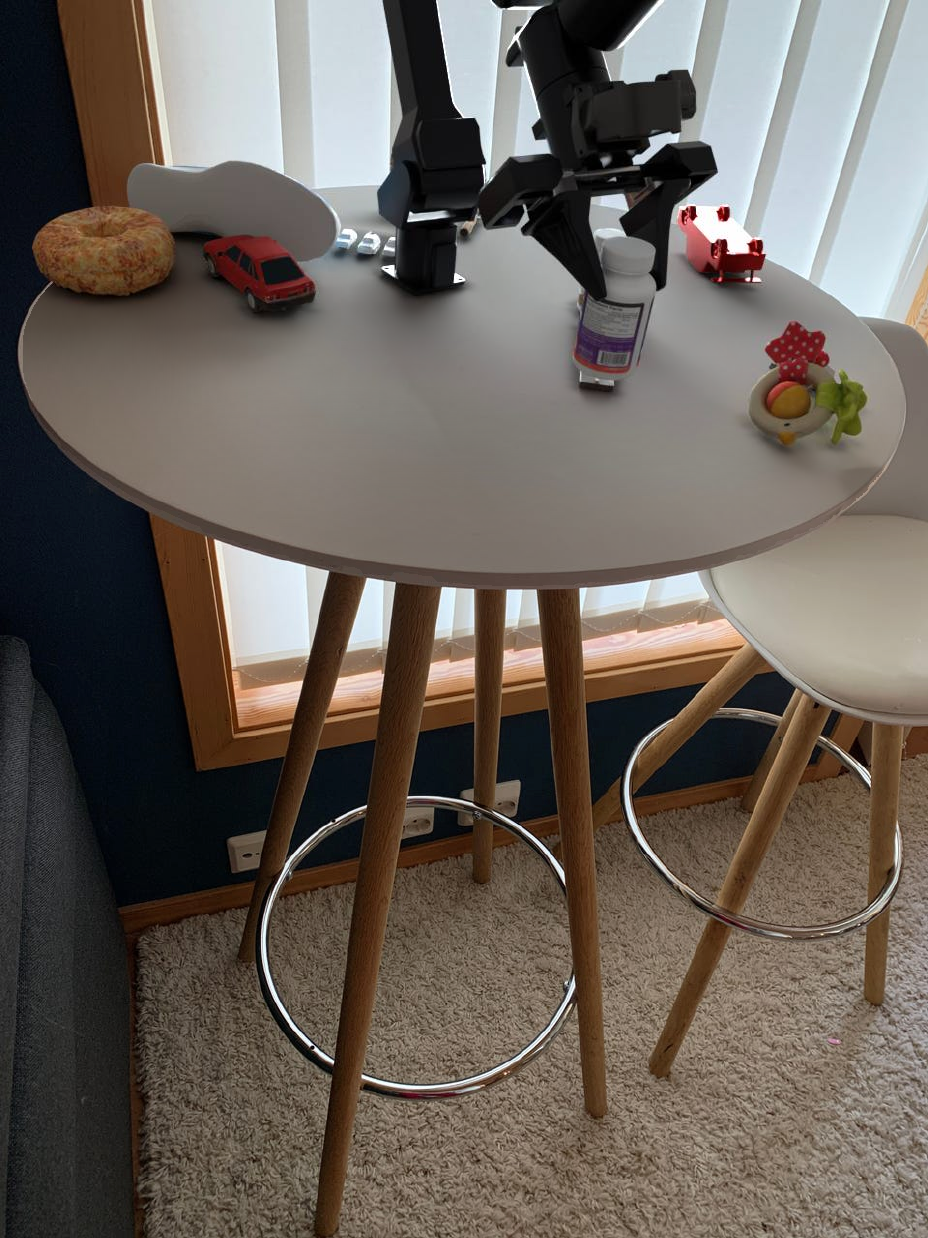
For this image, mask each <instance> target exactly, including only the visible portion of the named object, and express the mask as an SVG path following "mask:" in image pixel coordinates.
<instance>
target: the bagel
mask: <svg viewBox="0 0 928 1238" xmlns="http://www.w3.org/2000/svg"><path fill="white" fill-rule="evenodd" d="M31 249H32V253H33V256H34V259H35V262H36V266H37V268H38V269H39V271H40V273H41V274H43V275H44V276H45V277H46V279H48V280H49V281H50V282H52V283H54V284H56V286H57V287H60V286H61V287H62V288H63V289H67V288H69V289H70V290H72V291H74V292H75V293H82V292H84V293H89V294H92V295H103V296H107V295H114V296H118V297H122V296H129V295H130V294H131V293H132V294H135V293H136V292H138V293H139V292H140V291H142V290H145V289H146V288H150V287H153V286H155V285H157V284H160V283H162V282H163V281H164V279H165V278H167V277H168V276H169V274H170V271H171V269H173V266H174V264H175V258H176V257H175V256H177V253H176V252H175V250H176V243H175V239H174V236H173V234H172V232H170V231H169V229H168V227H167V225H166V224H165V222H164V221H163V220H162V219H160V218H159V217H158V216H157V215H154V214H152V213H149V212H146V211H143V210H140V209H136V208H130V207H125V206H116V205H99V206H93V207H87V208H86V207H85V208H82V209H79V210H75V211H71V212H68V213H64V214H61V215H59V216H58V217H56V218H54V219H53V220H51V221H49V222H47V223H45V225H44V226H43V227H42V228H41V229H40V230H39V231H38V232H37V234H35V237H34V240H33V243H32V246H31Z"/></svg>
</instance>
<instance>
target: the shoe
mask: <svg viewBox="0 0 928 1238" xmlns="http://www.w3.org/2000/svg"><path fill="white" fill-rule="evenodd" d="M126 195H127V202H128V205H129V208H136V209H140V210H143V211H146V212H149V213H152V214H154V215H157V216H158V217H159V218H160V219H162V220H163V221H164V222H165V224H166V225H167V227H168V229H169V231H170V233H184V232H191V233H196V234H201V235H211V236H216V237H219V238H224V237H230V236H237V235H251V236H254V237H265V236H266V237H270V238H271V239H272V240H276V242H277V244H279V245H280V246H281V247H283V248H284V249H285V250H286V251H288V252H289V253H290V254H291V255H292V257H293V258H294V259H295V261H296V262H297V263H301V262H309V261H312V260H317V259H320V258H321V257H323V256H325V255H326V254H328V253H329V252H330V251H331V250H332V249H333V247H335V243H336V242H337V239H338V238H339V237H338V236H340V234H341V229H342V224H341V220H340V218H339V216H338V214H337V212H336V211H335V210H334V209H333V207H331V205H330V204H329V202H328V201H327V200H326V199H325V198H324V197H323V196H321V195H320V194H319V193H318V192H316V191H315V190H314V189H312V188H311V187H309V186H307V185H305V184H304V183H303V182H301V181H299V180H297V179H295V178H293V177H291V176H289V175H287V174H285V173H283V172H279V171H277V170H275V169H273V168H271V167H268V166H265V165H262V164H258V163H255V162H253V161H252V162H251V161H246V160H241V159H240V160H239V159H237V160H236V159H235V160H232V159H231V160H227V161H224V162H221V163H218V164H216V165H214V166H210V167H207V166H193V165H170V166H169V165H161V164H160V165H159V164H155V163H150V162H149V163H148V162H147V163H146V162H144V163H140V164H137V165H135V166H134V167H133V168H132V169H131V171H130V173H129V176H128V178H127V183H126Z"/></svg>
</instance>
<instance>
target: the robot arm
mask: <svg viewBox="0 0 928 1238" xmlns="http://www.w3.org/2000/svg"><path fill="white" fill-rule="evenodd" d="M381 1H382V7H383V12H384V19H385V24H386V29H387V35H388V40H389V47H390V52H391V58H392V64H393V69H394V75H395V80H396V81H395V82H396V86H397V87H396V88H397V92H398V96H399V97H398V98H399V104H400V108H401V121H400V123H399V125H398V126H399V127H398V129H397V132H396V135H395V138H394V141H393V144H392V148H391V153H392V158H393V169H392V170H391V172H389V173H388V175H387V176H386V178H385V179H384V181H383V182H382V183H381V185H380V187H379V188H377V191H376V198H377V207H378V214H379V216H381V217H382V218H383V219H385V220H386V221H387V222H389V223H390V224H391V225H392V226H394V227H395V234H394V235H395V236H394V237H395V257H394V256H393V257H394V260H393V261H394V263H393V264H391V265H386V266H382V267H381V273H382V274H383V275H385V276H386V277H387V278H389V279H390V280H392V281H393V282H395V283H396V284H398V285H399V286H400V287H402V288H403V289H405V290H406V291H408V292H410V293H411V294H413V295H423V294H427V293H432V292H435V291H441V290H446V289H450V288H455V287H460V286H464V285H465V284H466V279H465V278H464V277H462V276H460V275H459V274H457V273H456V266H457V255H458V244H457V240H458V238H457V237H458V227H459V226H458V225H457V224H456V223H465V222H466V221H468V222H473V221H474V220H475V217H476V213H477V210H478V209H479V213H480V216H479V217H481V223H482V225H483V228H484V229H485V230H486V231H491V230H492V231H493V230H498V229H499V230H500V229H507V228H515V227H516V228H517V226H518V225H519V224H520V222H521V220H522V218H523V217H524V214H525V213H526V214H527V218H528V220H527V221H526V222H525V223H524V225H522V226H521V227H520V229H519V230H520V233H521V235H522V236H524V237H531V238H533V239H534V240H535V241H536V242H537V243H538V244H539V245H541V246H542V247H543V248H544V249H545V250H546V251H547V252H548V253H549V254H550V255H551V256H552V257H554V258H555V259H556V260H557V261H558V262H559V263H560V264H561V266H562V267H563V268H564V269H565V270H566V271H567V272H568V273H569V274H570V275H571V276H572V277H573V279H575V281H577V283H578V284H579V285H581V286H582V287H583V288H584V289H585V290H586V291H587V293H588V294H589V295H590V296H591V297H592V298H593V299H594V300H595V301H596V302H598V301H602V300H603V299H604V298H606V297H607V290H606V284H605V278H604V274H603V270H602V266H601V263H600V259H599V256H598V252H597V248H596V245H595V241H594V233H593V231H592V227H591V224H590V214H591V212H590V211H591V203H592V198H597V197H598V198H599V197H605V196H606V197H607V196H615V195H623V196H624V199H625V202H626V206H627V209H628V210H627V211H626V212H624V213H623V214H622V215H621V216H620V217H619V218H618V221H619V223H620V226H621V228H622V231H623V232H625V234H626V236H627V237H633V238H638V239H641V240H644V241H646V242H648V243H650V244H652V245H653V246H654V247H655V251H656V252H655V257H654V262H653V266H652V269H651V271H650V272H648V273H649V274H650V275H651V276H652V277H653V279H654V280H655V283H656V293H657V292H661V290H664V289H665V288H666V286H667V281H668V280H667V279H668V263H669V246H670V245H669V244H670V231H671V222H672V218H673V217H672V216H673V212H674V209H675V207H676V205H678V204H679V203H680V202H682V201H683V200H684V199H686V198H687V197H688V196H689V195H691V194H692V193H693V192H695V191H697V190H698V189H699V188H700V187H702V186H703V185H704V184H706V183H707V182H708V181H710V180H711V179H712V178H713V177H715V176H716V175H717V174H718V173H719V169H718V165H717V161H716V159H715V155H714V152H713V147H712V145H710V144H708V143H706V142H704V141H701V140H691V141H682V142H681V141H680V142H669V143H665V145H663V146H662V147H661V148H660V149H659V150H658V151H657V152H656V153H654V154H653V155H652V156H650V158H649V159H648V160H646V161H645V162H644V163H637V164H634V163H635V162H634V158H635V157H636V156H639V155H643V154H644V153H645V152H646V151H647V150H648V149H649V148H651V146H652V145H651V141H650V138H653V137H657V136H660V135H664V134H668V133H670V134H671V135H676V134H680V133H682V131H683V122H685V121H688V120H691V119H693V118H694V117H695V115H696V112H697V110H698V101H697V90H696V87H695V84H694V82H693V79H692V76H691V73H690V71H689V69H688V68H687V69H670V70H668V71H667V73H659V74H657V75H655V77H654V80H652V81H638V82H631V83H626V82H625V81H624V80H612V79H611V76H610V75H611V74H610V72H609V68H608V65H607V61H606V58H605V54H604V52H606V53H607V52H608V53H609V52H613V51H616V50H618V49H620V48H621V47H623V46H624V45H625V43H627V41H628V40H629V39H630V38H631V37H632V36H633V35H634V34H635V32H636V31H637V30H638V29H639V28H640V27H641V26H642V25H643V24H644V23H645V22H646V21H647V19H648V18H650V16H651V15H652V14H653V13H654V12H655V11H656V10H657V8H659V6H660V5H661V4H662V3H663V2H664V0H490V2H491V4H492V5H494V7H495V8H497V9H500V10H535V11H534V12H533V13H532V15H530V17H529V18H528V20H527V21H526V23H525V24H524V25H517V26H516V27H515V28H514V31H513V32H514V33H513V38H512V40H511V43H510V45H509V46H508V48H507V51H506V55H505V61H504V63H505V66H506V68H525V71H526V76H527V80H528V81H529V85H530V89H531V93H532V96H533V100H534V102H535V107H536V110H537V113H538V117H539V118H538V119H537V121H536V122H535V123H534V124H533V125H532V126H531V132H532V135H533V139H534V141H546V145H547V148H548V151H549V153H547V152H546V153H536V154H535V153H534V154H525V155H524V154H523V155H511V156H509V157H508V158H506V160H505V161H504V162H502V164H501V166H500V167H499V168H498V169H497V170H496V171H495V172H494V173H493V174H492V176H491V177H490V178H489V179H488V180H487V171H486V167H485V166H486V165H487V161H486V158H485V155H484V152H483V147H482V139H481V138H482V137H481V128H480V125H479V123H478V121H477V118H476V117H474V116H471V117H464V115H463V114H462V112H461V111H460V110H459V109H458V107H457V106H456V104H455V101H454V95H453V91H452V90H453V89H452V85H451V84H452V83H451V78H450V73H449V65H448V61H447V55H446V54H447V53H446V47H445V41H444V36H443V35H444V34H443V29H442V23H441V17H440V11H439V4H438V0H381ZM524 206H525V208H524ZM525 209H526V210H525ZM525 211H526V212H525Z"/></svg>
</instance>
